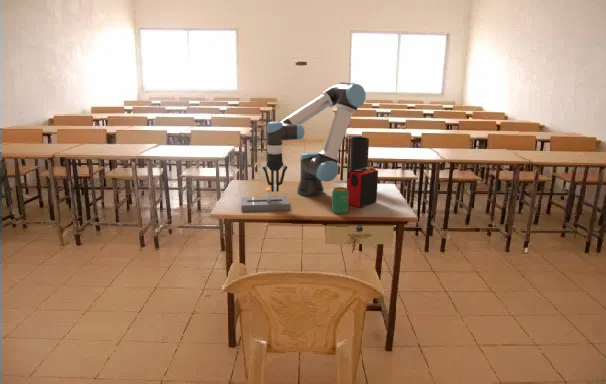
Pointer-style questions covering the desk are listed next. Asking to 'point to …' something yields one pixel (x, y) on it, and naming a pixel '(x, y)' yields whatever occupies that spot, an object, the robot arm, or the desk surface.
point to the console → (264, 203)
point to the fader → (268, 194)
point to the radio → (362, 186)
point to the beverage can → (340, 200)
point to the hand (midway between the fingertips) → (275, 197)
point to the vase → (359, 153)
